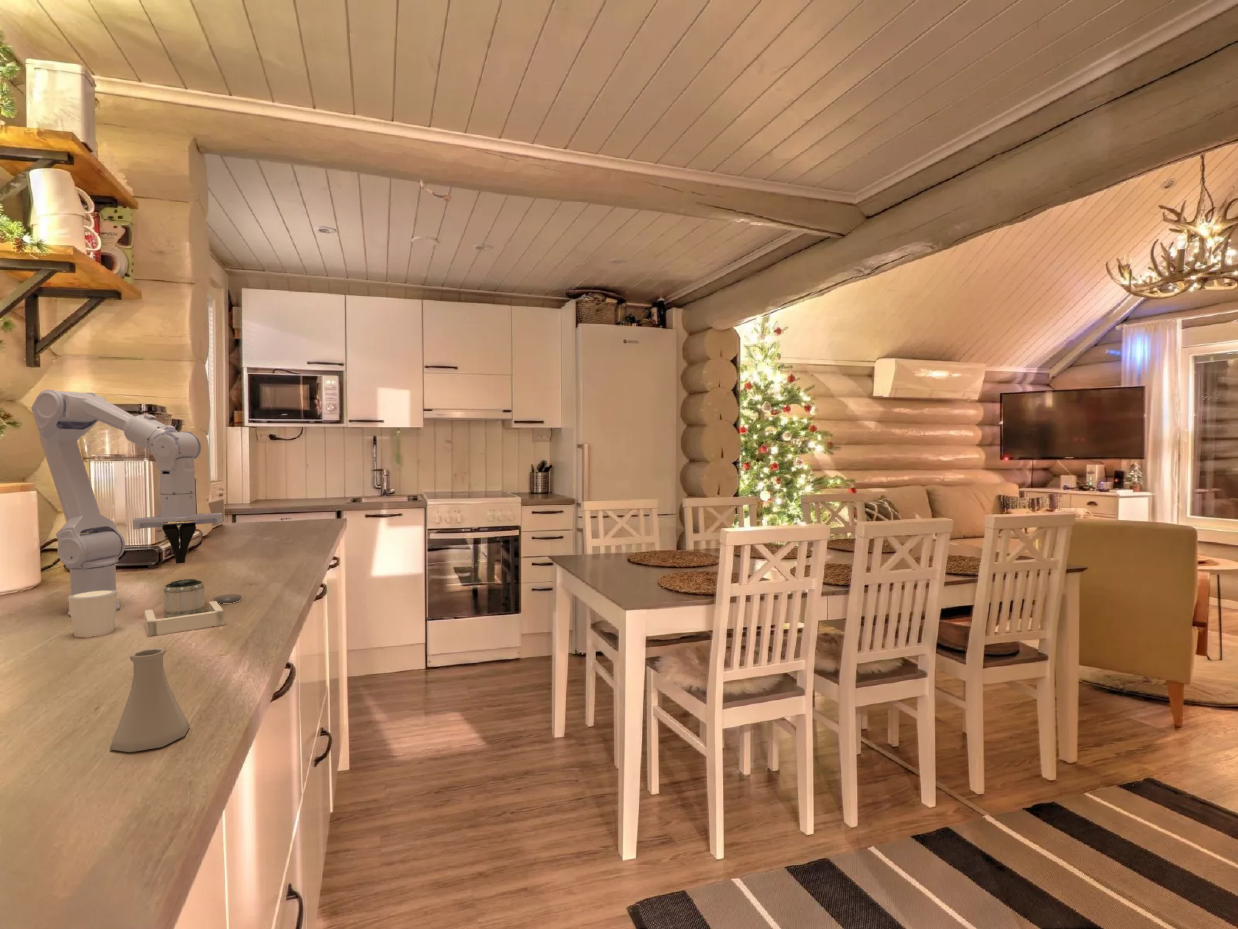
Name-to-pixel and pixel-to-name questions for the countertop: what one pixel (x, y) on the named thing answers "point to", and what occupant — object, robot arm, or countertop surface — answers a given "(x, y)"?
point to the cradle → (184, 621)
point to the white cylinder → (93, 612)
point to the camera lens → (184, 598)
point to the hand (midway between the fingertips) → (180, 562)
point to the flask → (149, 707)
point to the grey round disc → (227, 598)
